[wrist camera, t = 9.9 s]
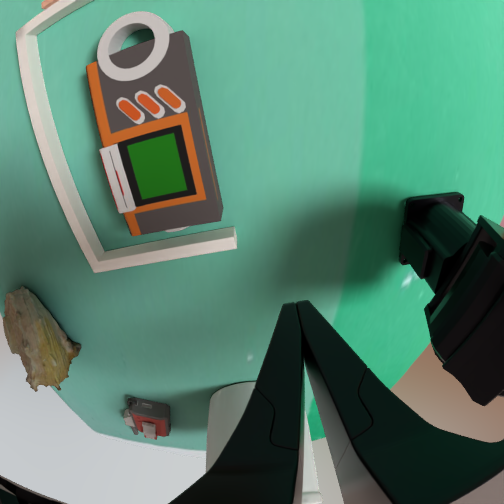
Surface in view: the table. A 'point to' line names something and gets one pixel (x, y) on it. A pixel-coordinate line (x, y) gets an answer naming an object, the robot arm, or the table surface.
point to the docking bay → (56, 7)
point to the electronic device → (153, 128)
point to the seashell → (37, 339)
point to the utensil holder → (227, 418)
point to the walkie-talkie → (148, 417)
